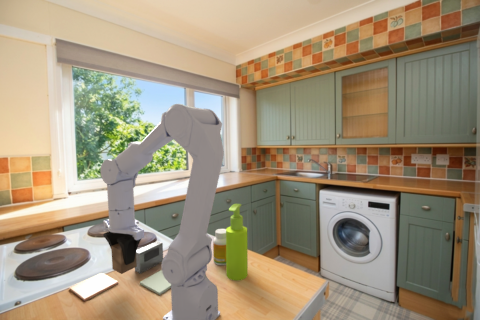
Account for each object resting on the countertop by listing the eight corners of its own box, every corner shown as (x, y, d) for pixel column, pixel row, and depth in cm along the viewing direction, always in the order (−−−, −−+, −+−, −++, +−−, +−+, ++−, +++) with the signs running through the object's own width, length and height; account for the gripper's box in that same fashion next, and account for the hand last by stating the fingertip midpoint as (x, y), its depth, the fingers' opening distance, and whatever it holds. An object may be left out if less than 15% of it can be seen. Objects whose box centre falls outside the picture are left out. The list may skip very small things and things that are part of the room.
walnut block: (136, 266, 61) (135, 243, 60) (121, 274, 57) (120, 250, 57) (127, 262, 63) (126, 240, 62) (112, 269, 60) (111, 246, 59)
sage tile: (184, 278, 65) (184, 276, 65) (159, 295, 58) (159, 292, 58) (164, 270, 69) (164, 268, 69) (139, 284, 62) (139, 282, 62)
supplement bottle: (228, 266, 71) (228, 235, 70) (211, 264, 72) (210, 233, 71) (232, 257, 76) (232, 228, 75) (216, 256, 77) (216, 227, 76)
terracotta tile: (118, 283, 63) (117, 281, 63) (84, 301, 56) (84, 298, 56) (102, 274, 67) (101, 272, 67) (69, 289, 60) (69, 287, 60)
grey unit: (163, 261, 74) (163, 242, 73) (140, 273, 67) (139, 253, 67) (157, 259, 75) (156, 240, 75) (134, 270, 69) (133, 250, 68)
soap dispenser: (222, 280, 64) (221, 207, 62) (230, 267, 70) (230, 200, 69) (243, 284, 62) (242, 209, 60) (249, 270, 69) (249, 202, 67)
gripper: (154, 208, 58) (156, 261, 59) (120, 200, 66) (123, 247, 67) (126, 216, 52) (129, 275, 54) (93, 206, 60) (96, 257, 61)
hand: (124, 260), depth 60 cm, fingers closed on walnut block, 4 cm apart
